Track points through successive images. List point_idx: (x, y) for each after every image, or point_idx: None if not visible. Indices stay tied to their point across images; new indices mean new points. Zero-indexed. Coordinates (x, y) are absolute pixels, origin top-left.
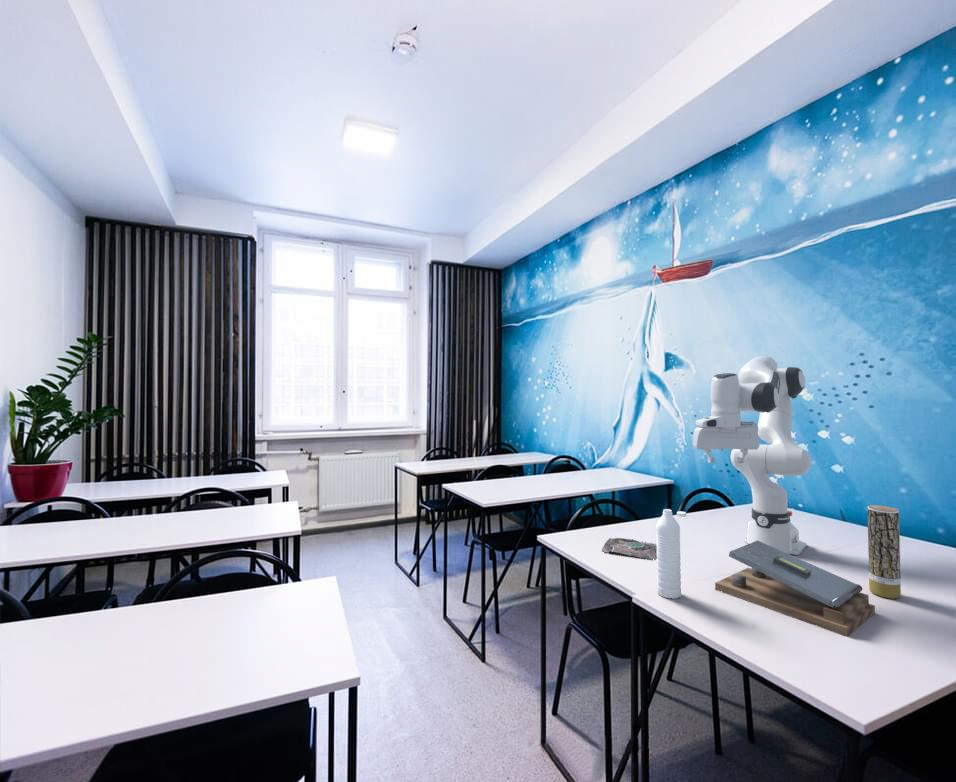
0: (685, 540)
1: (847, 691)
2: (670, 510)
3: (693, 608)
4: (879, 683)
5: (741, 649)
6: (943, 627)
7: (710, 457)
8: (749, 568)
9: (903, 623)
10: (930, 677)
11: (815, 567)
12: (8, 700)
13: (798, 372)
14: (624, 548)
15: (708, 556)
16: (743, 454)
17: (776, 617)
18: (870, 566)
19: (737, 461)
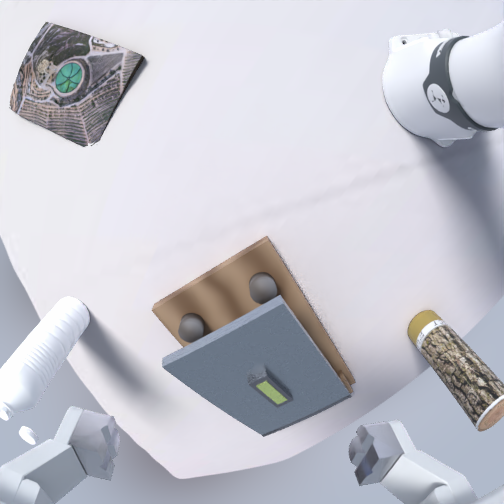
0: (239, 2)
1: (190, 465)
2: (6, 412)
3: (99, 355)
4: (224, 462)
5: (128, 425)
6: (388, 396)
7: (71, 472)
8: (267, 245)
9: (357, 394)
10: (275, 458)
11: (326, 374)
12: None
13: None
14: (40, 100)
15: (235, 118)
16: (409, 495)
17: None
18: (429, 346)
19: (364, 431)
